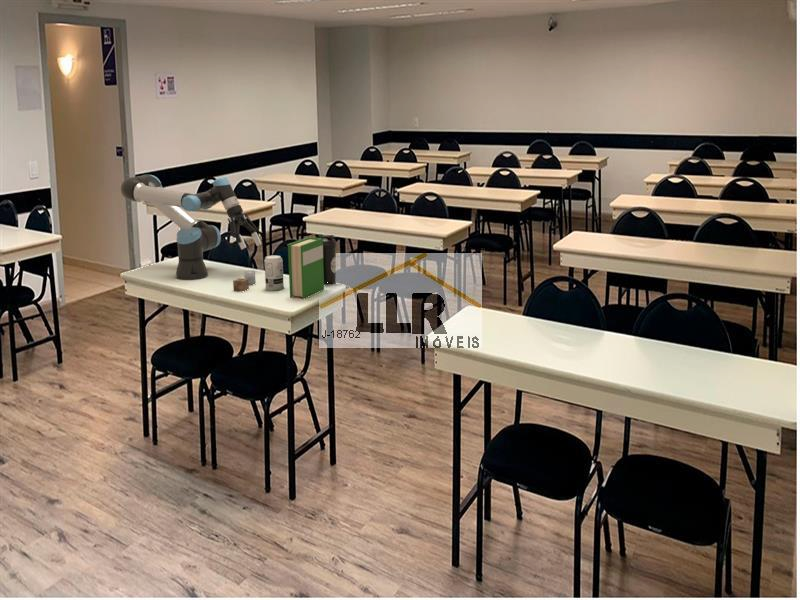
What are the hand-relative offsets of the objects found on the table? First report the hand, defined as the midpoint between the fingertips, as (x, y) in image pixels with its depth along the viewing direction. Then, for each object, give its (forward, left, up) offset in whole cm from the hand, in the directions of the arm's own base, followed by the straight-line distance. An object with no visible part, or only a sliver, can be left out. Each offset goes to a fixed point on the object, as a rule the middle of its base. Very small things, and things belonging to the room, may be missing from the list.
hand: (251, 246), depth 364 cm
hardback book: (+40, -19, -15) cm, 47 cm away
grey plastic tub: (+7, -14, -15) cm, 22 cm away
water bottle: (+40, +1, -15) cm, 43 cm away
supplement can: (+22, -17, -15) cm, 32 cm away
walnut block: (+9, -25, -15) cm, 31 cm away
